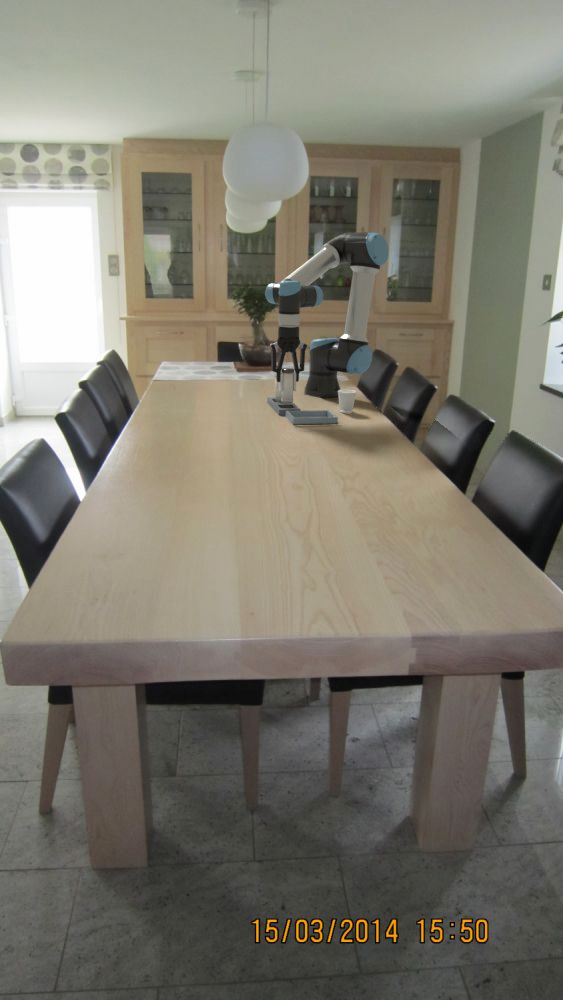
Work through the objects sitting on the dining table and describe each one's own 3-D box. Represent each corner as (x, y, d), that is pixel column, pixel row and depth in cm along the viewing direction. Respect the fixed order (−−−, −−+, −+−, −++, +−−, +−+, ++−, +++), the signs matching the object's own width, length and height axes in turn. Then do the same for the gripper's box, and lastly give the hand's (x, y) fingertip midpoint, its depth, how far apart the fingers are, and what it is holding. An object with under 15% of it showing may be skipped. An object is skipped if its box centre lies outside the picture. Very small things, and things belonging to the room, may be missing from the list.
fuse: (284, 404, 290) (285, 373, 286) (287, 406, 286) (288, 375, 282) (273, 404, 289) (273, 373, 285) (275, 406, 285) (276, 375, 281)
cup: (338, 414, 278) (339, 392, 275) (333, 408, 287) (334, 387, 284) (357, 414, 278) (358, 393, 276) (351, 408, 288) (353, 387, 285)
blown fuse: (291, 400, 279) (292, 367, 275) (294, 402, 275) (295, 370, 271) (279, 400, 278) (280, 368, 274) (282, 403, 274) (282, 370, 270)
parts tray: (328, 416, 274) (328, 409, 273) (337, 424, 262) (337, 417, 262) (285, 417, 270) (285, 410, 269) (293, 425, 259) (293, 418, 258)
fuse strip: (287, 403, 294) (287, 397, 293) (300, 416, 273) (300, 409, 272) (267, 404, 292) (267, 397, 291) (278, 416, 272) (279, 409, 271)
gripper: (309, 324, 272) (307, 388, 280) (262, 324, 269) (262, 389, 277) (315, 326, 265) (312, 392, 273) (267, 327, 262) (266, 393, 270)
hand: (287, 390), depth 275 cm, fingers closed on blown fuse, 4 cm apart
